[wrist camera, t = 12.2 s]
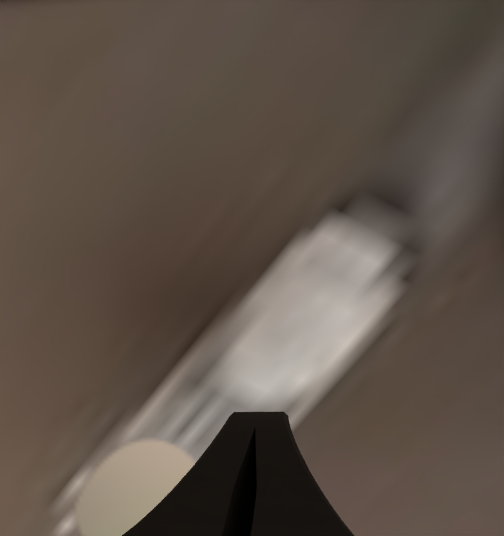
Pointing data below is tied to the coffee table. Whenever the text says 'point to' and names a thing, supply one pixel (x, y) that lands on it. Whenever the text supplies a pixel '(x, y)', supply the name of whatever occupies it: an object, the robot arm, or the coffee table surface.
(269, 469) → the robot arm
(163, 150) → the coffee table surface
